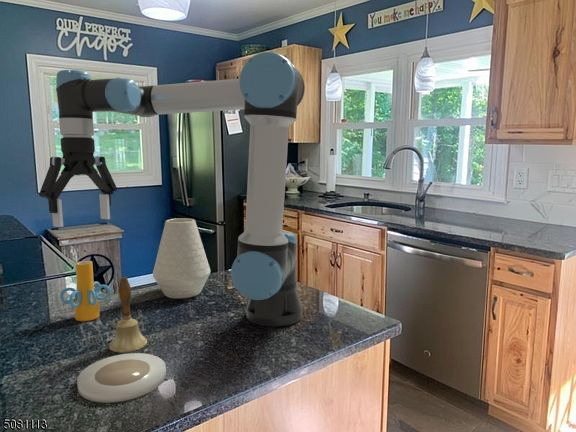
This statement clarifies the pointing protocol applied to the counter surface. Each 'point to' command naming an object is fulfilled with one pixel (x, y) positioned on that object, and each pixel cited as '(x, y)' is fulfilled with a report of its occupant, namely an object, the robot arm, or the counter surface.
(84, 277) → the cylinder
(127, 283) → the hand bell
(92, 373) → the hub plate
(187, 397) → the counter surface
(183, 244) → the vase
